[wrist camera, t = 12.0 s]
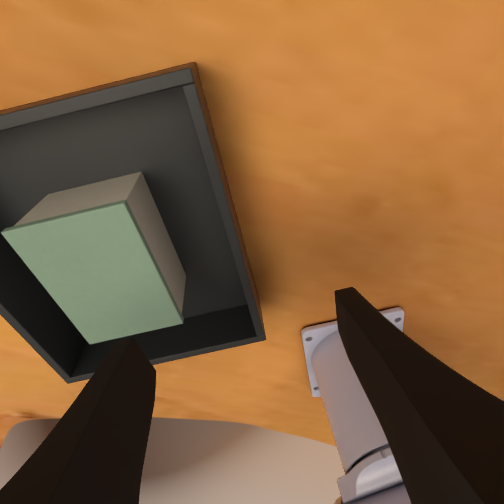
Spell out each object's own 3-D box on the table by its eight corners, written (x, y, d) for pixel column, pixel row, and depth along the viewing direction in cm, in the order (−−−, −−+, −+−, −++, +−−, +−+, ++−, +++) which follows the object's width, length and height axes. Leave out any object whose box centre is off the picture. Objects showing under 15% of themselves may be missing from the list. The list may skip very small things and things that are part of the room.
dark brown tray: (259, 301, 22) (266, 340, 19) (85, 340, 23) (67, 384, 20) (195, 61, 14) (190, 66, 11) (-81, 130, 14) (-157, 154, 11)
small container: (188, 276, 20) (183, 323, 16) (110, 294, 20) (89, 344, 17) (142, 168, 16) (124, 203, 12) (44, 192, 16) (-1, 232, 12)
